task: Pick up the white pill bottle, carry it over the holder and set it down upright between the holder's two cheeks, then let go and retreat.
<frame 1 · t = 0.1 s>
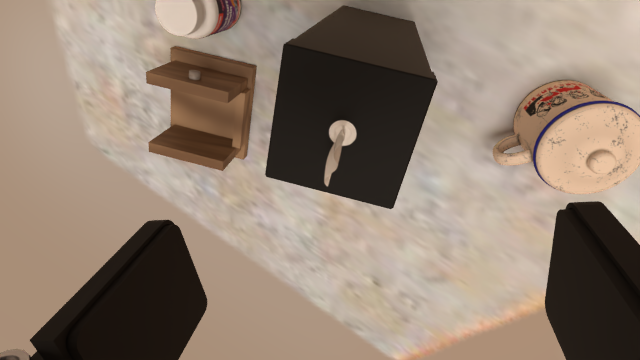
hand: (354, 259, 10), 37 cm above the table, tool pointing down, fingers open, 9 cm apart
teacup with lid: (540, 121, 43), on the table
holder: (213, 104, 49), on the table
pill bottle: (219, 4, 43), on the table
tissue box: (369, 50, 43), on the table
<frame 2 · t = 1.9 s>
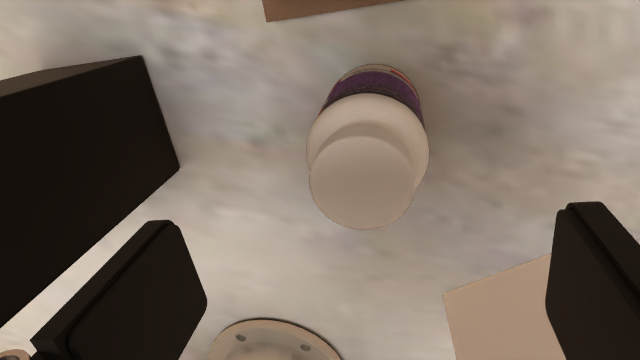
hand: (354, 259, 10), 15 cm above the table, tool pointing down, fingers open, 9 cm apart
pill bottle: (372, 108, 23), on the table
tissue box: (115, 120, 26), on the table
milk: (556, 321, 28), on the table
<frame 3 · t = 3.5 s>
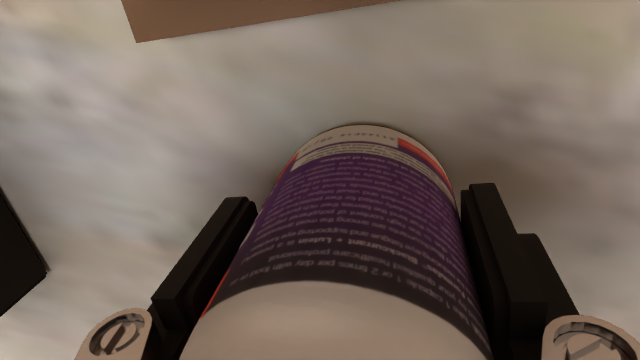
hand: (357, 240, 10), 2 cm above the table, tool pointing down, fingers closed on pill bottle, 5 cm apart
pill bottle: (363, 198, 12), on the table, touching gripper
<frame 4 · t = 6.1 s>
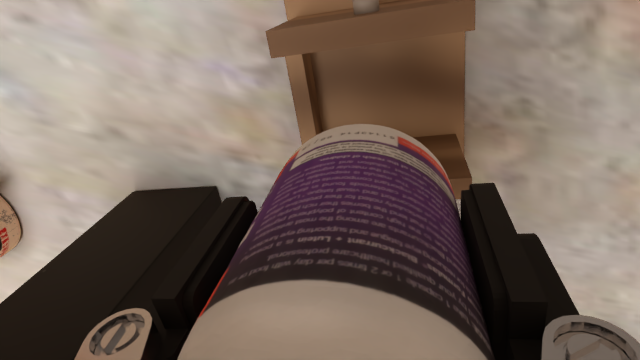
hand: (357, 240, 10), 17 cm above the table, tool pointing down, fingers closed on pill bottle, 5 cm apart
holder: (379, 82, 25), on the table
pill bottle: (363, 197, 12), point 15 cm above the table, touching gripper
tissue box: (190, 225, 34), on the table
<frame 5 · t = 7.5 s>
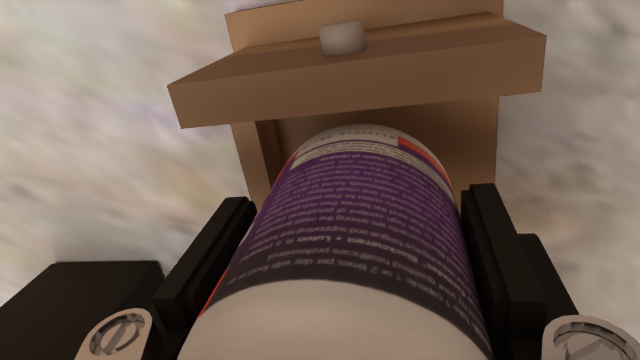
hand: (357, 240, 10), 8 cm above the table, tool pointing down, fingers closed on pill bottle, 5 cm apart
holder: (371, 137, 17), on the table
pill bottle: (363, 197, 12), point 6 cm above the table, touching gripper
tissue box: (129, 304, 26), on the table
when the fingers open (5 cm above the table, at t = 8.6 s): pill bottle drops 1 cm, resting on holder.
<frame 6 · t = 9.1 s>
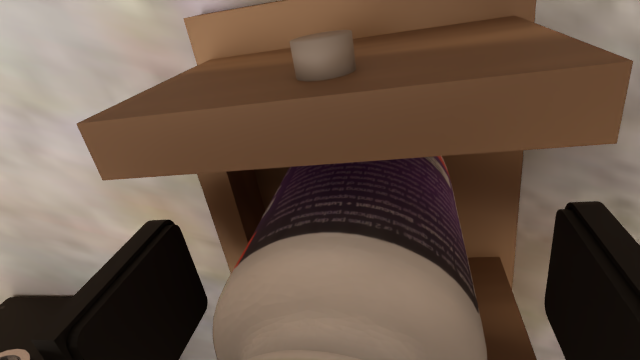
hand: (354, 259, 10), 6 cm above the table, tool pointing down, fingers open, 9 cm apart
holder: (367, 164, 15), on the table
pill bottle: (368, 181, 14), point 1 cm above the table, touching holder
tissue box: (97, 340, 23), on the table
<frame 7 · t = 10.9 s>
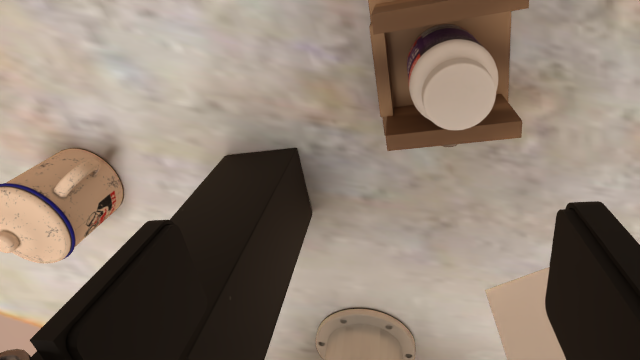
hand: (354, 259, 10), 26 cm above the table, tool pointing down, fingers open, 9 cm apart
teacup with lid: (96, 173, 44), on the table
holder: (439, 54, 31), on the table
pill bottle: (441, 59, 30), point 1 cm above the table, touching holder
tissue box: (270, 183, 41), on the table
milk: (561, 306, 42), on the table
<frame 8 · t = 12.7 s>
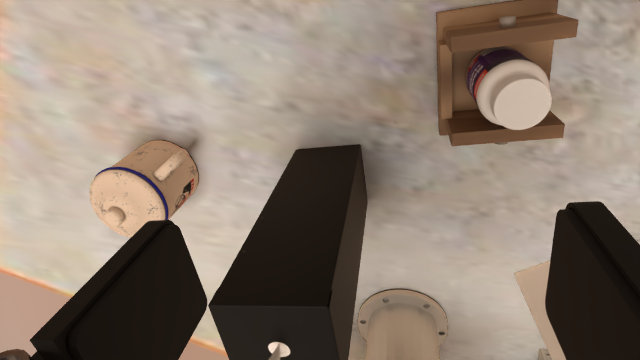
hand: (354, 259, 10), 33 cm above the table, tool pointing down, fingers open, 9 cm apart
teacup with lid: (175, 163, 50), on the table
holder: (490, 69, 38), on the table
pill bottle: (493, 73, 37), point 1 cm above the table, touching holder
tissue box: (332, 175, 47), on the table
milk: (579, 288, 49), on the table
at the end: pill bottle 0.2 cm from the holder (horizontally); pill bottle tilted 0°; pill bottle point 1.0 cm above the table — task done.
